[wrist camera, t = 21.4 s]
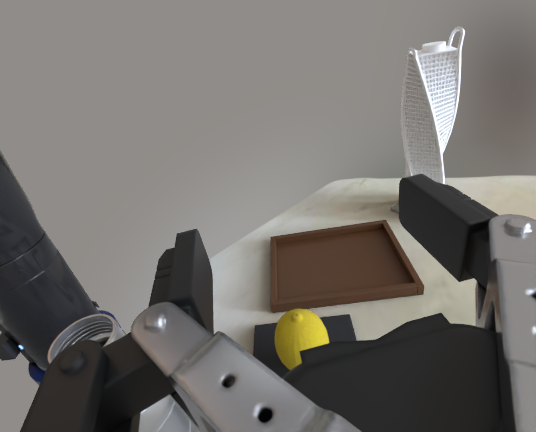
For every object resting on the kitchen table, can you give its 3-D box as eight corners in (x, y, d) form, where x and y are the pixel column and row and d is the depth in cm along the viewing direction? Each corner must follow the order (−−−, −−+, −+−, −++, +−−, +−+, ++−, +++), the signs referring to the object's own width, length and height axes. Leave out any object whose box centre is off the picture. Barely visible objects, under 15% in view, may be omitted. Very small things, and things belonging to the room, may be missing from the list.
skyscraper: (459, 209, 54) (487, 19, 40) (429, 230, 51) (448, 32, 37) (415, 194, 61) (425, 27, 46) (386, 212, 58) (387, 38, 43)
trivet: (250, 430, 31) (249, 427, 30) (255, 328, 41) (254, 325, 41) (377, 419, 29) (377, 416, 29) (349, 317, 40) (349, 314, 39)
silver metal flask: (186, 431, 32) (93, 286, 21) (243, 463, 29) (166, 309, 18) (138, 509, 27) (-9, 370, 17) (200, 556, 24) (64, 421, 14)
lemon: (332, 390, 32) (325, 339, 28) (278, 388, 33) (264, 339, 29) (331, 342, 36) (325, 293, 32) (284, 342, 38) (272, 294, 34)
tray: (272, 312, 43) (270, 305, 42) (272, 243, 56) (270, 236, 55) (423, 294, 41) (424, 285, 40) (385, 227, 54) (385, 219, 53)
